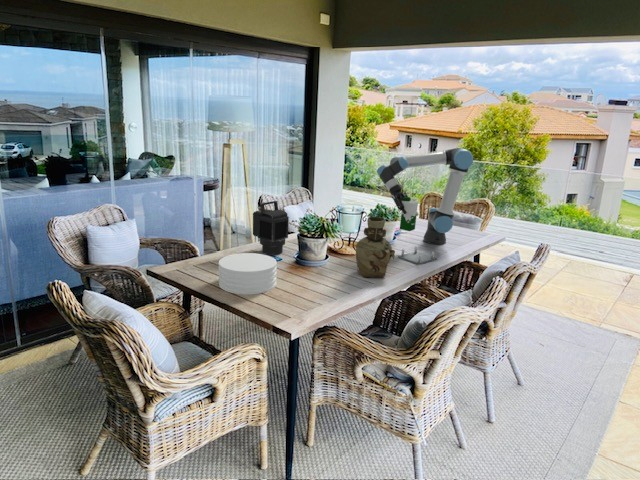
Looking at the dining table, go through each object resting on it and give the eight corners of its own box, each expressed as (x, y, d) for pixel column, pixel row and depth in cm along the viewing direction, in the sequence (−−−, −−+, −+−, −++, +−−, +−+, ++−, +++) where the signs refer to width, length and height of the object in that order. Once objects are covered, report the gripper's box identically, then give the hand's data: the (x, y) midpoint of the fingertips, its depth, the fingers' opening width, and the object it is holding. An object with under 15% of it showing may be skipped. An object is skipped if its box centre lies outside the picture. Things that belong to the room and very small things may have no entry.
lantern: (273, 257, 278) (274, 206, 270) (251, 250, 288) (251, 201, 280) (290, 251, 290) (291, 203, 281) (268, 245, 300) (269, 198, 292)
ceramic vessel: (384, 282, 247) (389, 226, 239) (348, 274, 257) (351, 219, 248) (397, 272, 263) (403, 219, 255) (363, 264, 273) (366, 213, 264)
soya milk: (404, 226, 306) (407, 195, 300) (417, 229, 301) (420, 198, 295) (397, 229, 299) (400, 197, 294) (410, 232, 294) (413, 200, 288)
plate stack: (249, 270, 256) (249, 249, 252) (287, 284, 239) (288, 262, 236) (207, 283, 235) (206, 261, 231) (245, 299, 218) (245, 276, 215)
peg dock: (416, 252, 300) (416, 245, 299) (437, 259, 289) (438, 251, 287) (397, 257, 289) (398, 249, 287) (418, 264, 277) (419, 256, 276)
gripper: (398, 189, 311) (417, 217, 306) (380, 192, 296) (399, 222, 290) (406, 182, 307) (426, 210, 301) (388, 185, 291) (408, 215, 285)
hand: (413, 216), depth 296 cm, fingers closed on soya milk, 9 cm apart
